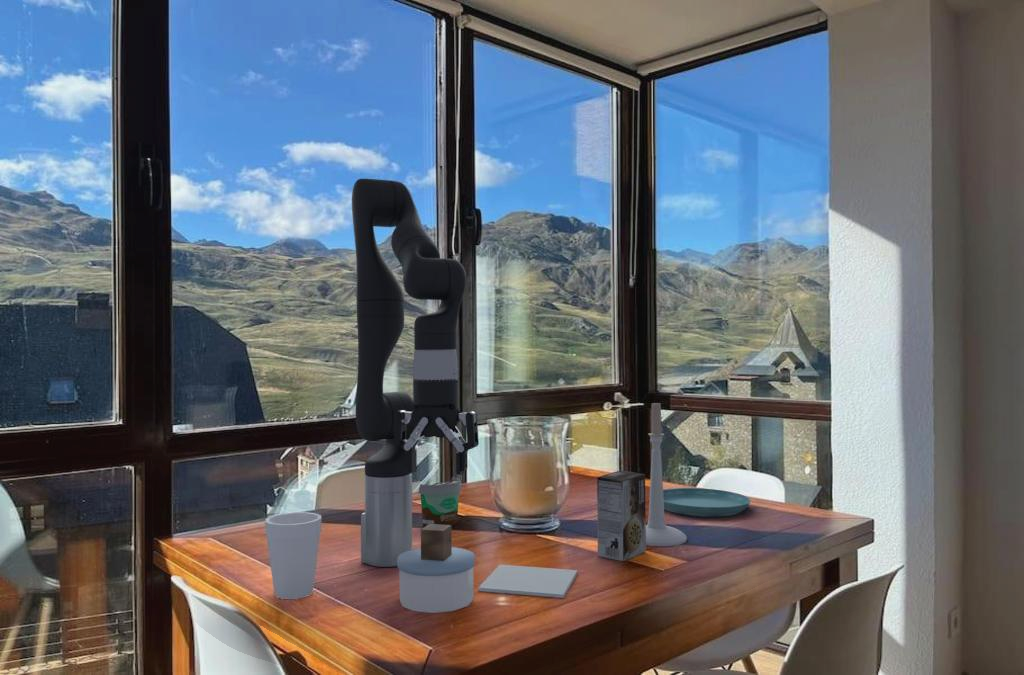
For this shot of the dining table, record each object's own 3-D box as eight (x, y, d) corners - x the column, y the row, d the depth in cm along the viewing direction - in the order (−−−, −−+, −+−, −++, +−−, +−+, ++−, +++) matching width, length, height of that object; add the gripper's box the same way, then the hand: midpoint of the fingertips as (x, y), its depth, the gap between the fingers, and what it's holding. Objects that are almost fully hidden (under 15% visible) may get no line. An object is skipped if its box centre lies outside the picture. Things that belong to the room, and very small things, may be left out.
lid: (384, 572, 125) (384, 534, 125) (414, 551, 138) (414, 516, 138) (461, 578, 122) (460, 539, 122) (484, 556, 135) (484, 520, 135)
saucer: (749, 523, 184) (749, 509, 184) (647, 516, 191) (647, 503, 191) (751, 502, 207) (751, 490, 207) (659, 497, 214) (659, 485, 214)
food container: (438, 531, 176) (437, 487, 176) (418, 527, 179) (418, 484, 179) (473, 521, 186) (472, 479, 186) (453, 517, 189) (453, 476, 189)
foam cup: (327, 584, 138) (326, 512, 138) (315, 602, 129) (315, 524, 129) (273, 585, 138) (273, 512, 138) (258, 603, 129) (257, 525, 129)
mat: (478, 591, 134) (478, 587, 134) (499, 567, 148) (499, 564, 148) (563, 598, 131) (563, 594, 131) (577, 573, 144) (577, 570, 144)
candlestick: (630, 546, 163) (630, 403, 163) (623, 531, 176) (623, 399, 176) (692, 546, 163) (691, 403, 163) (680, 531, 175) (680, 398, 175)
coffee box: (619, 546, 163) (619, 469, 163) (646, 552, 159) (646, 473, 159) (596, 556, 156) (595, 476, 156) (623, 562, 152) (623, 479, 152)
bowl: (388, 608, 126) (388, 572, 126) (416, 585, 137) (416, 552, 137) (459, 615, 123) (458, 577, 123) (481, 591, 134) (481, 556, 134)
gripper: (387, 377, 128) (387, 475, 128) (469, 378, 125) (469, 478, 125) (404, 375, 136) (405, 468, 136) (482, 375, 132) (483, 470, 132)
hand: (436, 473), depth 130 cm, fingers open, 8 cm apart
